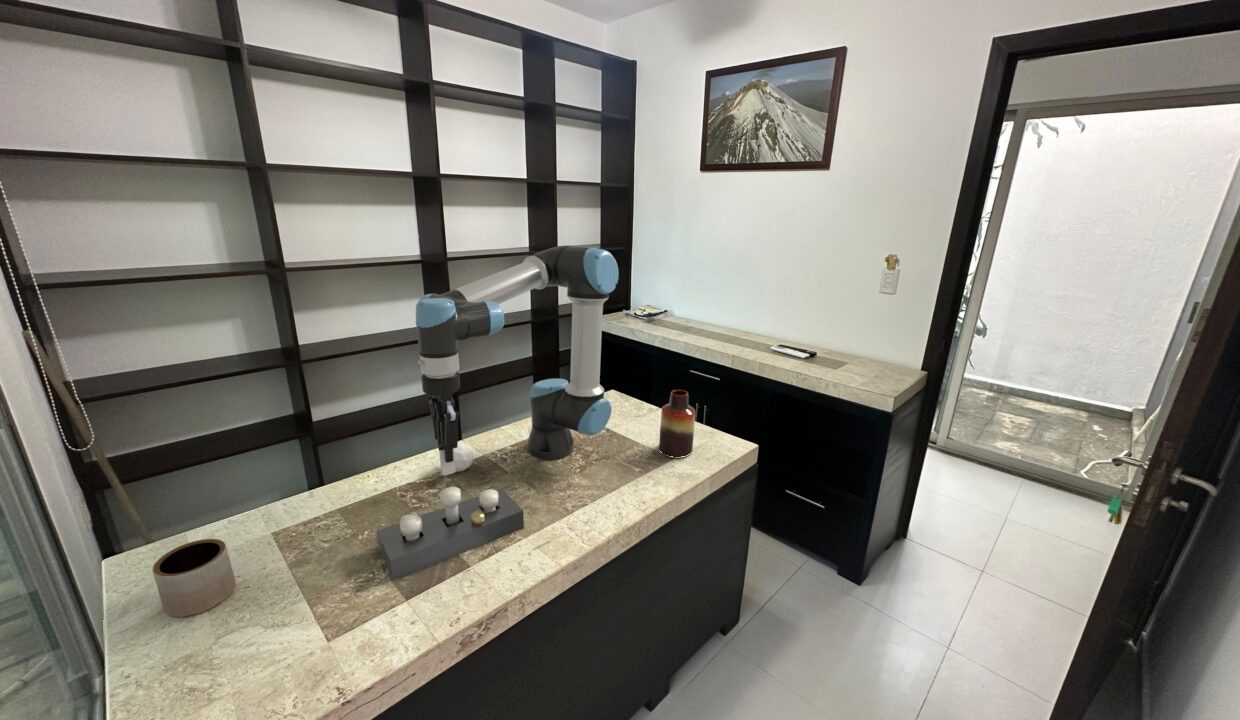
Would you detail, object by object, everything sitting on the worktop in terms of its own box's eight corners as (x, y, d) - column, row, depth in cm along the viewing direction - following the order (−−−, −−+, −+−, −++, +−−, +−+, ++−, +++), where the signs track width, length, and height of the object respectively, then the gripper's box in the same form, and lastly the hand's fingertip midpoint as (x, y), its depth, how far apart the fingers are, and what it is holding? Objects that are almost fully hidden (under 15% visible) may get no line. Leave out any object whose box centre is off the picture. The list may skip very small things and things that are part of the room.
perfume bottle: (483, 454, 146) (462, 479, 135) (465, 464, 150) (443, 489, 139) (467, 434, 145) (444, 457, 134) (449, 445, 148) (425, 468, 137)
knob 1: (421, 542, 112) (418, 512, 110) (427, 552, 109) (424, 522, 106) (401, 549, 109) (397, 519, 107) (406, 560, 106) (402, 529, 104)
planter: (153, 626, 89) (140, 583, 86) (177, 585, 98) (165, 545, 95) (227, 609, 93) (216, 567, 90) (243, 571, 102) (233, 532, 100)
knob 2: (495, 515, 123) (493, 487, 120) (502, 523, 119) (501, 495, 117) (478, 521, 120) (476, 493, 118) (485, 530, 117) (483, 501, 114)
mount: (502, 504, 128) (501, 488, 126) (523, 528, 119) (523, 510, 117) (378, 549, 110) (376, 530, 109) (392, 580, 101) (390, 560, 100)
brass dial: (481, 516, 115) (481, 509, 114) (486, 522, 113) (486, 515, 112) (469, 520, 113) (468, 513, 112) (474, 527, 111) (473, 520, 110)
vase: (669, 439, 167) (673, 384, 161) (697, 449, 161) (702, 391, 155) (652, 451, 159) (656, 393, 153) (682, 461, 153) (686, 401, 147)
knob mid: (458, 514, 116) (456, 484, 114) (465, 523, 113) (463, 493, 111) (440, 520, 114) (437, 490, 111) (446, 530, 110) (443, 499, 108)
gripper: (412, 367, 105) (422, 465, 112) (432, 385, 95) (441, 491, 102) (447, 362, 109) (454, 456, 116) (469, 378, 100) (475, 480, 107)
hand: (448, 472), depth 109 cm, fingers closed
